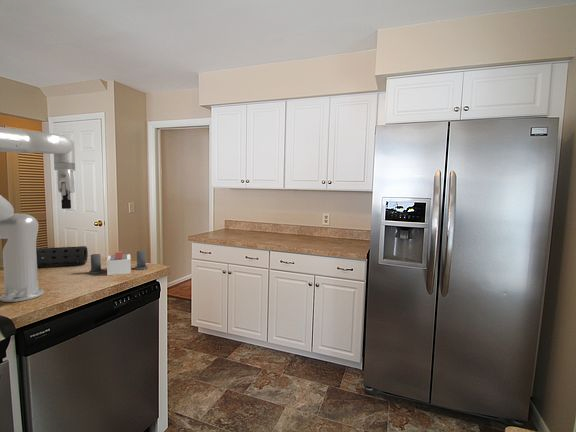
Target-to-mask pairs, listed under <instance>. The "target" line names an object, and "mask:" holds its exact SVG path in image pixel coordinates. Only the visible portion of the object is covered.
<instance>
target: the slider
mask: <svg viewBox="0 0 576 432" xmlns="http://www.w3.org/2000/svg"><path fill="white" fill-rule="evenodd" d="M122 254H123V251H115V252H114V255H115V259H122Z"/></svg>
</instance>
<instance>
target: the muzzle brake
mask: <svg viewBox="0 0 576 432" xmlns="http://www.w3.org/2000/svg"><path fill="white" fill-rule="evenodd" d="M36 254H37V269H38V268H45V267H46V266H57V267H60V266H64V267H65V266H78V265H79V266H81V265H86V263H87V261H88V258H89V257H88V256H89V255H88V254H89V253H88V248H87V246H83V245H81V246H63V247H62V246H61V247H58V246H57V247H40V248H37V247H36Z"/></svg>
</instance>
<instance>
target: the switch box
mask: <svg viewBox="0 0 576 432" xmlns="http://www.w3.org/2000/svg"><path fill="white" fill-rule="evenodd" d="M131 260H132V258H131V254H130V253H128V254H127V253H122V259H115V254H112V255H107V259H106V274H107V276H114V275H116V276H117V275H125V274H126V275H127V274H131V272H132V268H131V267H132V265H131V264H132V263H131Z"/></svg>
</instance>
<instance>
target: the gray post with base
mask: <svg viewBox="0 0 576 432" xmlns="http://www.w3.org/2000/svg"><path fill="white" fill-rule="evenodd" d="M101 261H102V260H101V254H100V253H93V254H90V270H89V271H88V275H101V274H103V273H104V269H102V262H101Z"/></svg>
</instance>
